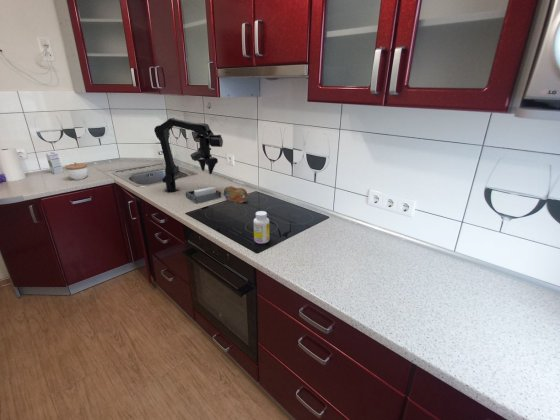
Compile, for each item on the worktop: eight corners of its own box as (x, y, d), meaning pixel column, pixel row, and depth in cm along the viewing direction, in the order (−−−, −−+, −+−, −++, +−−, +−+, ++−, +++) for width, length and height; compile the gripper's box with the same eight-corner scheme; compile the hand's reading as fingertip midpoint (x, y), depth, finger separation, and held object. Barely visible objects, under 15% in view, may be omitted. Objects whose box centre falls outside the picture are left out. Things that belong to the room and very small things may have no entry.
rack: (186, 197, 176) (185, 191, 174) (210, 191, 186) (210, 185, 184) (195, 203, 167) (195, 197, 165) (221, 197, 176) (220, 191, 175)
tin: (223, 199, 174) (223, 185, 171) (227, 197, 176) (226, 184, 173) (245, 204, 167) (245, 190, 164) (248, 202, 170) (248, 188, 167)
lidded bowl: (74, 182, 199) (70, 165, 195) (64, 179, 205) (60, 163, 200) (93, 177, 209) (90, 162, 205) (83, 174, 215) (79, 159, 210)
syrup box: (63, 172, 219) (58, 152, 213) (54, 174, 214) (48, 154, 209) (59, 171, 222) (54, 151, 216) (50, 173, 217) (45, 153, 212)
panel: (194, 198, 171) (193, 190, 169) (213, 194, 179) (212, 186, 177) (197, 200, 169) (196, 192, 167) (216, 195, 176) (215, 187, 174)
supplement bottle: (266, 235, 133) (266, 209, 128) (271, 242, 127) (271, 215, 122) (252, 238, 130) (251, 211, 126) (256, 245, 125) (256, 217, 120)
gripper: (184, 145, 174) (187, 171, 180) (199, 150, 161) (201, 178, 167) (202, 143, 181) (204, 168, 187) (217, 148, 168) (219, 175, 174)
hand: (206, 172), depth 179 cm, fingers open, 9 cm apart
